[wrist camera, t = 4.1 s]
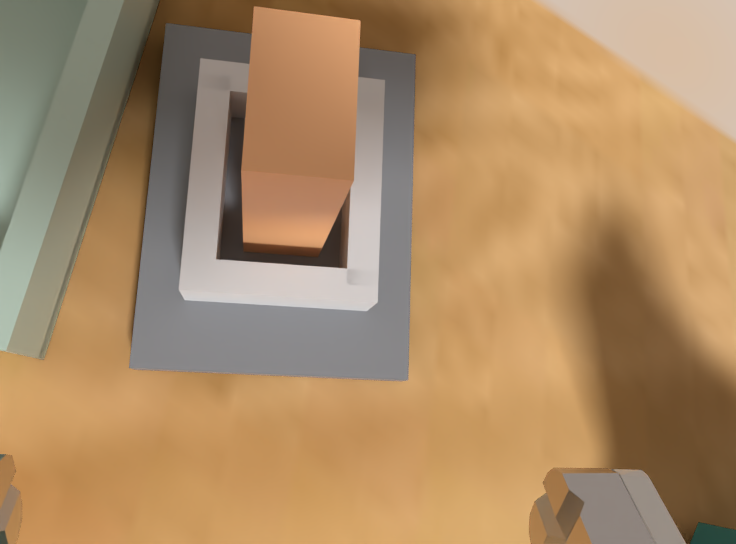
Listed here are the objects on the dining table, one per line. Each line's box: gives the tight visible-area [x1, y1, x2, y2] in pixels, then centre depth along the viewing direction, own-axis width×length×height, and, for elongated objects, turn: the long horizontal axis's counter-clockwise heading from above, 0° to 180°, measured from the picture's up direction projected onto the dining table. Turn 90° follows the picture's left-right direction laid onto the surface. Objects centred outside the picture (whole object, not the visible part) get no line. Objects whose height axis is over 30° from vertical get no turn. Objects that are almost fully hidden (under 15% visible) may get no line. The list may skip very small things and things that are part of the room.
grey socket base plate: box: [129, 23, 416, 381], centre depth 23 cm, size 9×12×3 cm
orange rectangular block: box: [241, 6, 361, 257], centre depth 19 cm, size 2×4×8 cm, turn 177°
